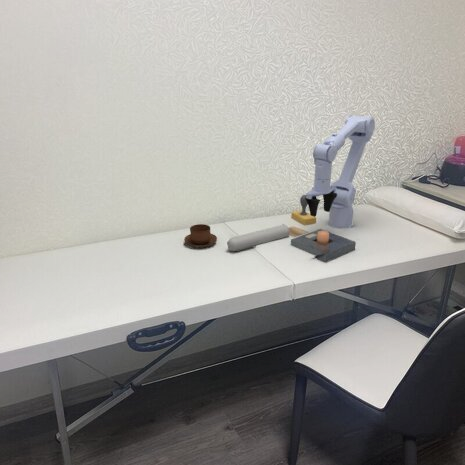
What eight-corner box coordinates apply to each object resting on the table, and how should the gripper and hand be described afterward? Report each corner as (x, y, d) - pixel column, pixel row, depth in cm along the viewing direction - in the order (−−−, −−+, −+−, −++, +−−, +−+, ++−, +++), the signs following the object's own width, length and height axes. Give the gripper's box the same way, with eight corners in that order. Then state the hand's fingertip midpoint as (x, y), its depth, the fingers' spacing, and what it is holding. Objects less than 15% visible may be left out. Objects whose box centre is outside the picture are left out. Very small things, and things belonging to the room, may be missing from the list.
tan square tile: (293, 228, 173) (293, 226, 172) (308, 234, 167) (308, 232, 167) (278, 233, 168) (279, 231, 168) (294, 239, 162) (294, 237, 162)
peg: (321, 244, 158) (322, 229, 155) (330, 248, 155) (331, 233, 152) (314, 248, 155) (315, 232, 153) (322, 251, 152) (324, 236, 150)
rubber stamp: (290, 220, 182) (292, 192, 177) (302, 218, 184) (303, 190, 180) (304, 227, 174) (306, 199, 169) (316, 225, 176) (318, 197, 171)
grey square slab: (319, 236, 165) (320, 228, 164) (354, 249, 154) (355, 241, 153) (290, 247, 156) (290, 239, 155) (325, 262, 144) (326, 253, 143)
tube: (230, 256, 152) (288, 240, 163) (233, 244, 148) (291, 229, 160) (223, 247, 155) (280, 232, 167) (225, 235, 152) (283, 221, 164)
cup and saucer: (178, 246, 158) (177, 230, 155) (195, 234, 168) (195, 220, 165) (206, 252, 153) (205, 236, 150) (222, 240, 162) (222, 225, 160)
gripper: (327, 172, 163) (324, 206, 168) (300, 179, 155) (298, 214, 160) (342, 176, 158) (339, 211, 163) (315, 183, 150) (313, 220, 155)
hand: (320, 213), depth 161 cm, fingers open, 7 cm apart
